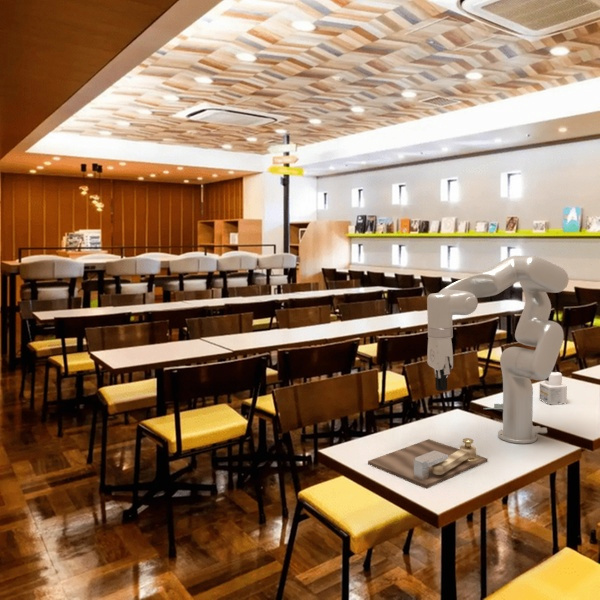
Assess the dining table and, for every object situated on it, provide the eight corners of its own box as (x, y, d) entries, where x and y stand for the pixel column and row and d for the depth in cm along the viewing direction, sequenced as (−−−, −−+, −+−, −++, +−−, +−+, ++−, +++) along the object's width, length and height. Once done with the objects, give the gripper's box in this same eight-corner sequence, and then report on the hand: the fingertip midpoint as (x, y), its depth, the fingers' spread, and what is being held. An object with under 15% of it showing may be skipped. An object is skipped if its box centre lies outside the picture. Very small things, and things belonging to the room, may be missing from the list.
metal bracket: (533, 402, 214) (494, 404, 213) (534, 418, 213) (496, 419, 212) (517, 402, 228) (481, 404, 227) (519, 417, 227) (483, 418, 226)
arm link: (464, 451, 176) (464, 443, 176) (479, 454, 173) (479, 447, 173) (427, 472, 161) (427, 464, 160) (442, 477, 157) (442, 469, 157)
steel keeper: (424, 481, 157) (424, 463, 156) (411, 475, 161) (411, 458, 160) (448, 471, 163) (448, 454, 162) (434, 466, 167) (434, 449, 166)
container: (539, 400, 236) (539, 370, 234) (556, 399, 237) (556, 369, 235) (549, 405, 228) (549, 374, 227) (566, 404, 229) (567, 373, 228)
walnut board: (428, 441, 190) (428, 439, 190) (487, 461, 172) (487, 458, 172) (368, 464, 173) (367, 460, 173) (426, 488, 154) (426, 485, 154)
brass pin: (475, 453, 176) (475, 436, 175) (481, 461, 170) (481, 443, 169) (455, 454, 176) (455, 436, 176) (460, 461, 170) (460, 443, 169)
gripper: (420, 329, 180) (421, 385, 182) (438, 337, 165) (439, 397, 167) (441, 328, 181) (443, 383, 183) (462, 335, 166) (463, 395, 168)
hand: (441, 389), depth 175 cm, fingers closed
